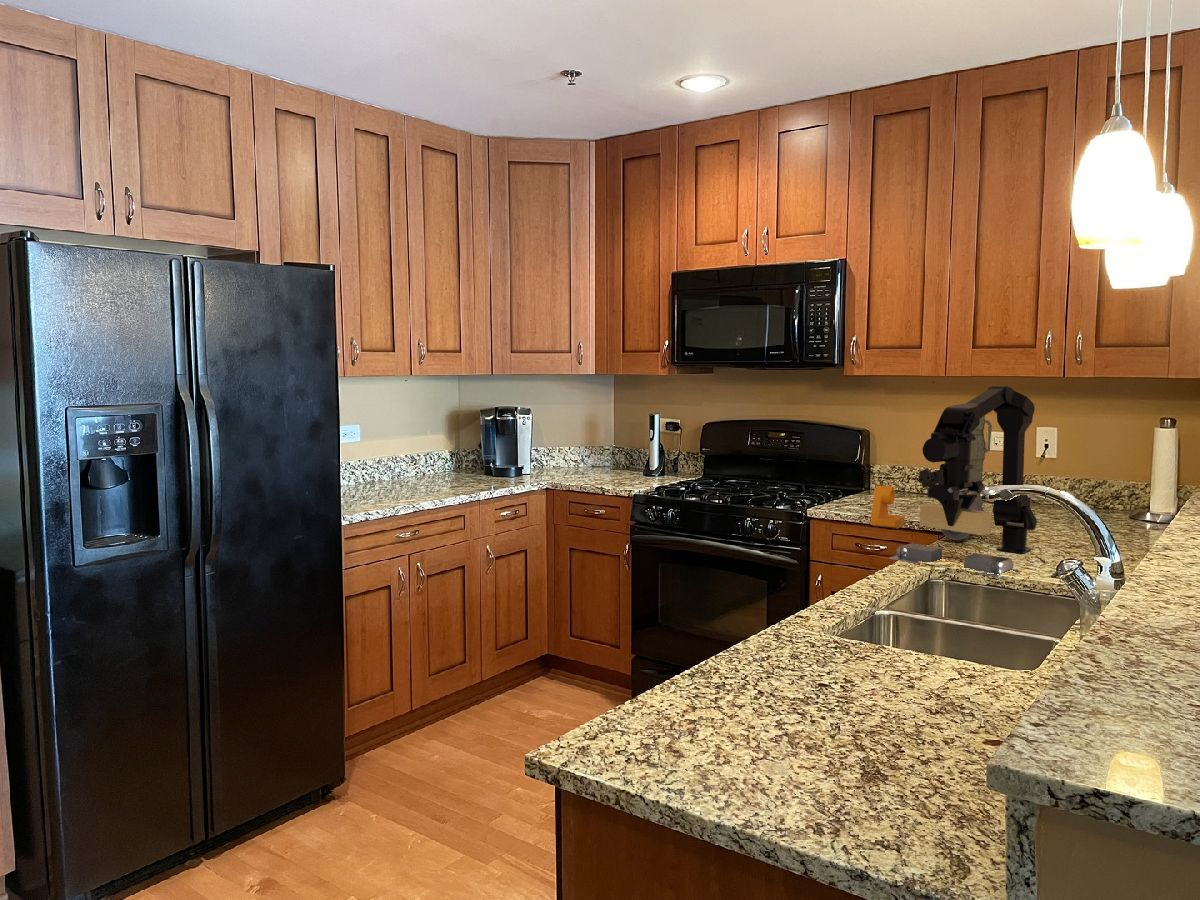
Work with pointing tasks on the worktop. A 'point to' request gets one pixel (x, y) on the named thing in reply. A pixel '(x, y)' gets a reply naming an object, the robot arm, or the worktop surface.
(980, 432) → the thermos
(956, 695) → the worktop surface
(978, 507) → the bluetooth speaker
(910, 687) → the worktop surface
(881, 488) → the bracket
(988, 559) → the pair of grey blocks
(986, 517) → the tan wooden block
